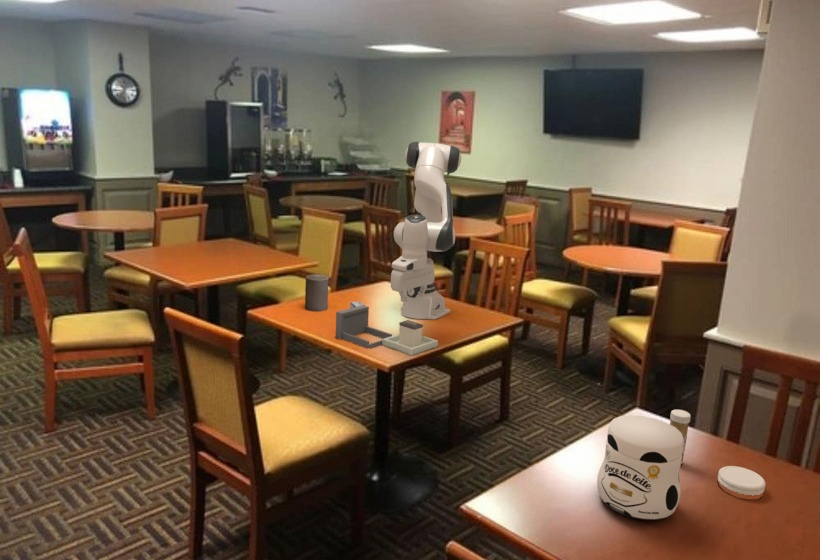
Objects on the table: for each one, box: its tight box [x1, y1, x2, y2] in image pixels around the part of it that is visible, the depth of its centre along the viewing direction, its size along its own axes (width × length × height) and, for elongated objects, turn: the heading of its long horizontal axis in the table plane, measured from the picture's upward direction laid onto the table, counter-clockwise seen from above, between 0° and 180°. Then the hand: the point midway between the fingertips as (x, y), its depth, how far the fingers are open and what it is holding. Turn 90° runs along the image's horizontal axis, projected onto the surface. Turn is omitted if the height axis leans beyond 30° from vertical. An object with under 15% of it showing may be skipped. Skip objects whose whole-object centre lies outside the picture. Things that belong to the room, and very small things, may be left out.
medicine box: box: [349, 301, 366, 308], centre depth 262 cm, size 8×4×9 cm, turn 23°
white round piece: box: [717, 465, 766, 496], centre depth 156 cm, size 10×10×4 cm
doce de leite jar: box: [596, 414, 684, 522], centre depth 145 cm, size 17×17×18 cm
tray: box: [381, 333, 439, 357], centre depth 241 cm, size 14×14×2 cm
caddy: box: [398, 319, 424, 348], centre depth 241 cm, size 5×7×8 cm, turn 49°
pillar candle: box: [304, 274, 330, 312], centre depth 281 cm, size 10×10×15 cm
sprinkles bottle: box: [669, 409, 692, 462], centre depth 165 cm, size 5×5×14 cm
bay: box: [335, 304, 393, 349], centre depth 245 cm, size 14×17×10 cm
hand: (412, 299), depth 238 cm, fingers open, 8 cm apart
